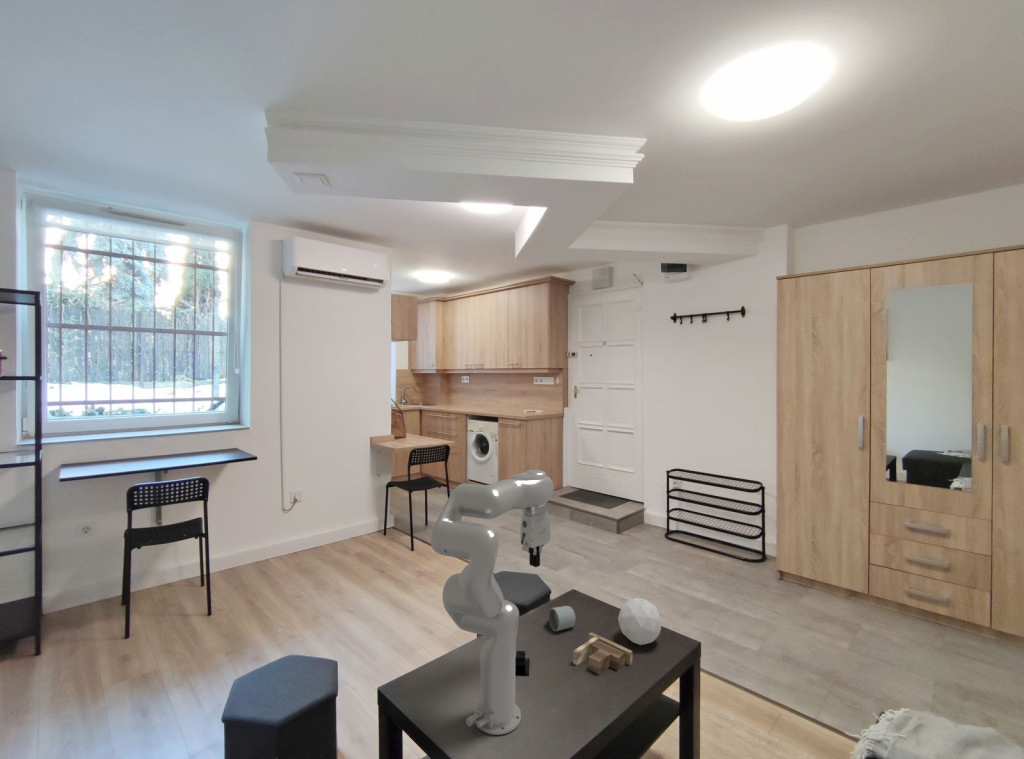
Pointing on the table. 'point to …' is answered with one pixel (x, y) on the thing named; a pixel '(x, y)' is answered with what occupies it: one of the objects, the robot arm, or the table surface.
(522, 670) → the build plate
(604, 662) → the tee block
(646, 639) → the white faceted ball
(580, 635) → the table surface
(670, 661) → the table surface
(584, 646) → the light wooden angled piece
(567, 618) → the ceramic mug
